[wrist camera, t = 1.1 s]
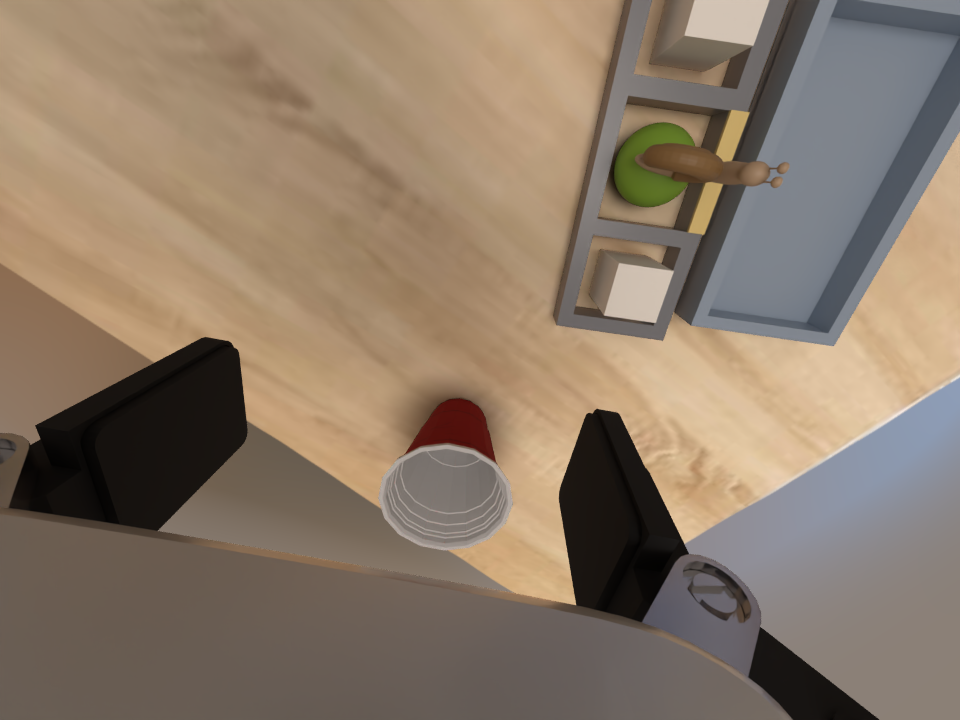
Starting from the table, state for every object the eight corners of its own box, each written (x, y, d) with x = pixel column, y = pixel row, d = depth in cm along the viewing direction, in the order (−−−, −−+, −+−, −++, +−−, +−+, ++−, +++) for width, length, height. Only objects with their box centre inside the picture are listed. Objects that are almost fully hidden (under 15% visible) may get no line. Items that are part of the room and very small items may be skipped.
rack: (640, -68, 24) (655, -96, 22) (785, -46, 25) (818, -72, 22) (553, 315, 36) (556, 326, 33) (653, 330, 36) (664, 341, 33)
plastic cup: (531, 425, 41) (541, 513, 30) (458, 474, 45) (444, 568, 34) (463, 355, 38) (446, 425, 27) (390, 413, 42) (350, 496, 31)
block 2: (668, -10, 26) (711, -60, 20) (727, -1, 26) (786, -49, 20) (649, 63, 27) (684, 35, 22) (704, 71, 27) (753, 45, 22)
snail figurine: (674, 212, 31) (762, 231, 21) (597, 197, 31) (646, 209, 20) (701, 137, 29) (818, 113, 18) (619, 121, 29) (687, 87, 18)
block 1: (600, 249, 33) (619, 263, 28) (646, 255, 33) (673, 271, 28) (588, 293, 35) (604, 315, 29) (632, 300, 35) (655, 323, 29)
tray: (790, -3, 25) (831, -28, 22) (969, 24, 25) (1034, 2, 22) (674, 312, 35) (690, 325, 32) (804, 330, 35) (833, 346, 32)
